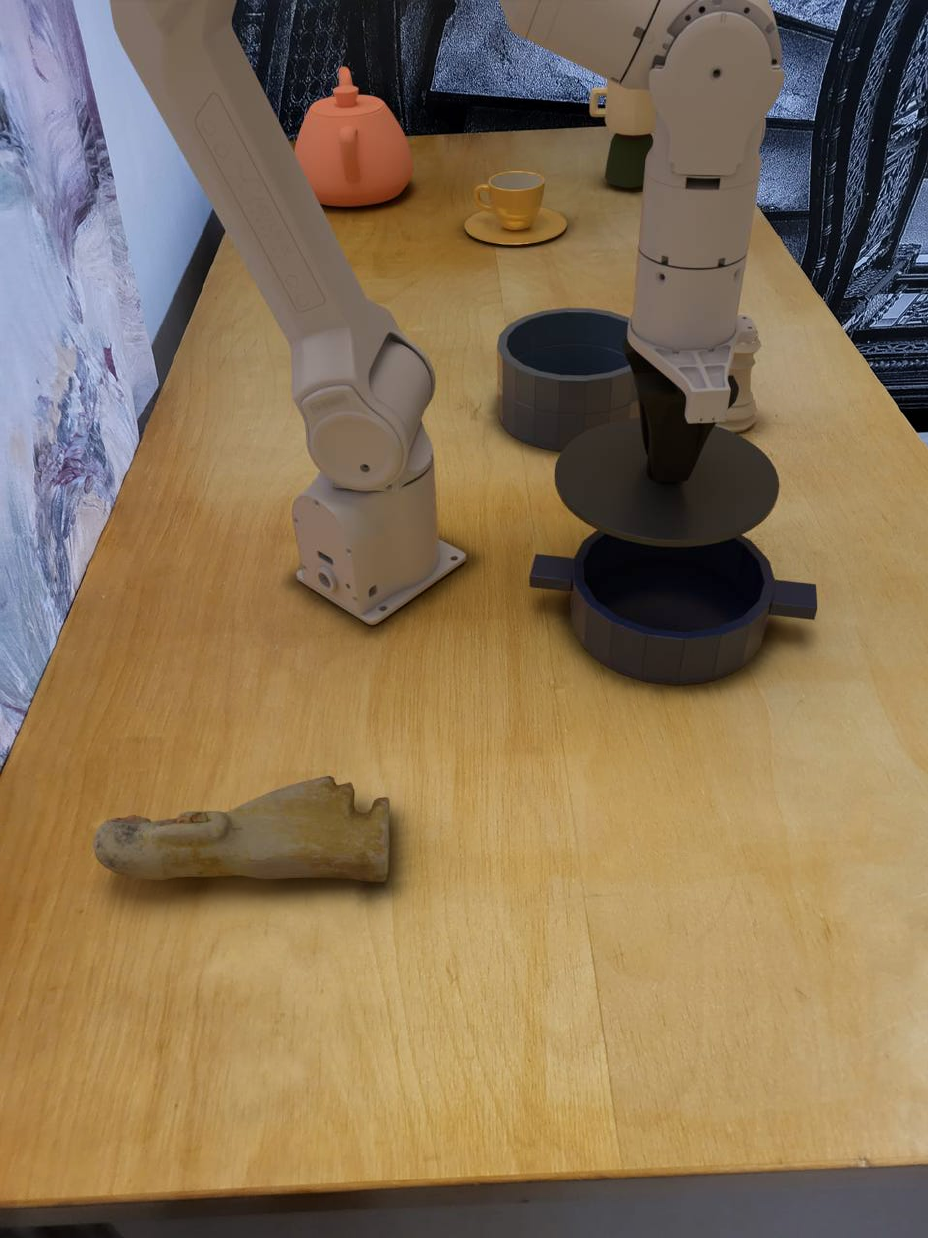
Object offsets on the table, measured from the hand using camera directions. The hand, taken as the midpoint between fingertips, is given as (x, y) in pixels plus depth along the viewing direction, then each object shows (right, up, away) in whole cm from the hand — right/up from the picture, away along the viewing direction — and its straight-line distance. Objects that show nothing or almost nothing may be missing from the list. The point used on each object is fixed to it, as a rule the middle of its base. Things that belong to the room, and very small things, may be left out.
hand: (666, 465), depth 62 cm
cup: (-6, +36, +56) cm, 67 cm away
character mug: (+8, +46, +66) cm, 80 cm away
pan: (+1, -9, +4) cm, 10 cm away
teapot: (-26, +45, +67) cm, 85 cm away
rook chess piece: (+10, +7, +22) cm, 25 cm away
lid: (0, -1, +1) cm, 1 cm away
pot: (-3, +8, +24) cm, 26 cm away
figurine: (-24, -22, -9) cm, 34 cm away
